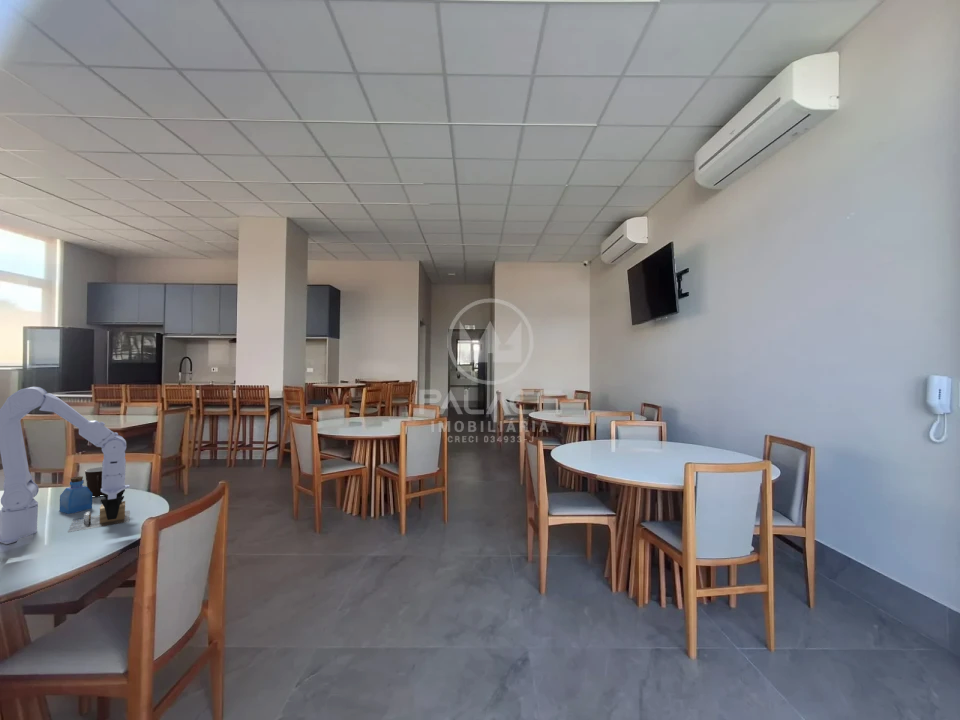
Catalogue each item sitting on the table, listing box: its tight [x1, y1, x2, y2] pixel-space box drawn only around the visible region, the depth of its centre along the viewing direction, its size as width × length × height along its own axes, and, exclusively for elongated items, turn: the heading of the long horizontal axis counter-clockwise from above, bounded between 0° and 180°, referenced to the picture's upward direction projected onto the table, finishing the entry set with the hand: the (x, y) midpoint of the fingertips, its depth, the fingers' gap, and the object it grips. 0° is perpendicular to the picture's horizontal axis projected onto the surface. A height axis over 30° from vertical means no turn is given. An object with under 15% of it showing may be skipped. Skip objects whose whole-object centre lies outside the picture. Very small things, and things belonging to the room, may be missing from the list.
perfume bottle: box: [59, 475, 93, 515], centre depth 143 cm, size 6×6×12 cm
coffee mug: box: [84, 466, 103, 496], centre depth 161 cm, size 12×9×10 cm
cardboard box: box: [99, 500, 126, 523], centre depth 135 cm, size 5×6×5 cm
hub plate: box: [67, 509, 131, 533], centre depth 133 cm, size 14×13×4 cm
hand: (112, 515), depth 135 cm, fingers open, 7 cm apart
